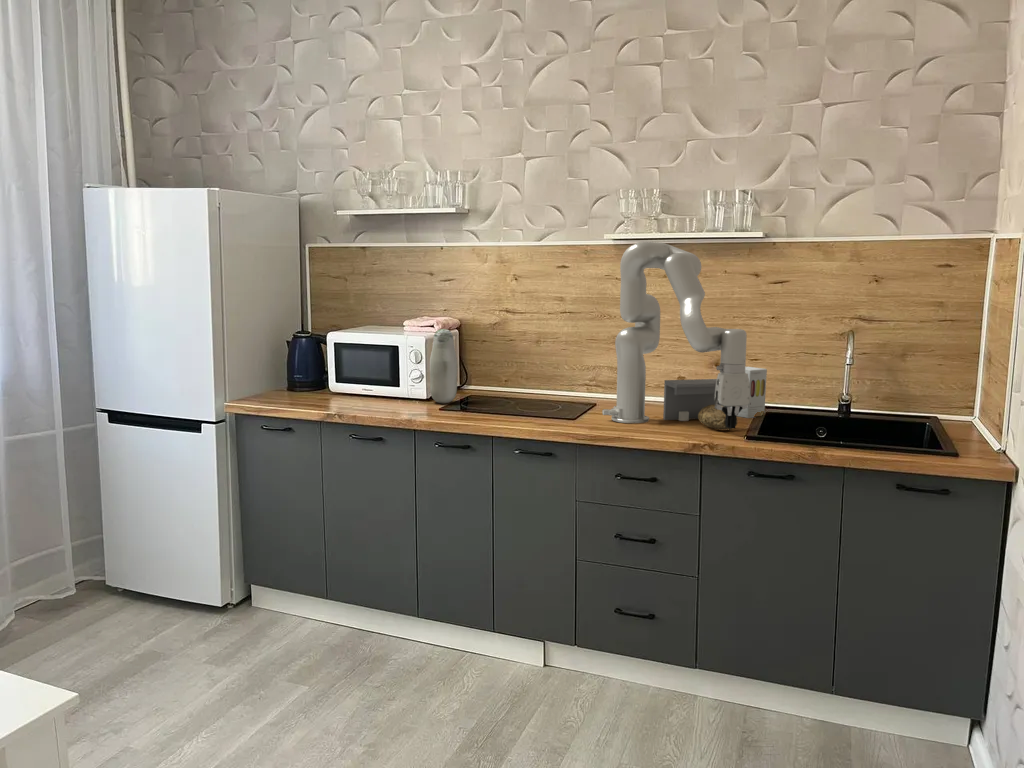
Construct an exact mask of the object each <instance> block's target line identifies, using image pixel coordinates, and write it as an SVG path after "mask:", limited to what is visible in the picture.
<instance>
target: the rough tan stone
mask: <svg viewBox="0 0 1024 768" xmlns="http://www.w3.org/2000/svg"><path fill="white" fill-rule="evenodd" d="M697 420H698V421H699V422H700V423H701V424H702V425H704V426H705V427H709V428H711V429H715V430H719V431H729V430H732V429H734V428H731V429H730V428H728V427H726V425H725V414H724V412H723V411H722V410H718V409H715V404H714V405H708V406H706V407H704V408H702V409H701V410H700V412H699V414H698V419H697ZM737 425H738V420H737V421H736V425H735V428H736V426H737Z"/></svg>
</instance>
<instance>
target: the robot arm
mask: <svg viewBox="0 0 1024 768" xmlns="http://www.w3.org/2000/svg"><path fill="white" fill-rule="evenodd" d="M619 269H620V272H619V273H620V288H619V289H620V292H619V293H620V295H619V296H620V297H619V299H620V300H619V302H620V303H619V314H620V317H621V319H622V320H623V321H624V322H626V323H630V324H633V323H634V326H629V327H626V328H622V330H620V331H619V332H618V333H617V335H616V338H615V342H614V344H615V353H616V362H617V363H616V366H617V367H616V369H617V370H616V371H617V372H616V374H617V375H616V376H617V377H616V405H614V406H613V407H612V408H611V409H608V408H607V409H602V411H601V412H602V415H603V416H611V420H612V421H613V422H617V423H623V424H644V423H647V422H650V421H649V420H650V417H649V416H648V415H646V414H645V411H646V409H645V408H646V407H645V405H646V382H647V381H646V378H647V377H646V376H647V375H646V373H647V370H646V369H647V368H646V367H647V366H646V361H645V357H644V355H645V354H650V353H652V352H654V351H655V350H656V349H657V348H658V347H659V343H660V336H661V306H660V303H659V301H658V300H657V298H656V297H655V296H654V295H652V294H650V293H649V294H648V293H647V278H646V274H645V271H644V270H646V269H661V270H663V271H664V273H665V275H666V277H667V279H668V281H669V284H670V286H671V288H672V291H673V292H674V294H675V296H676V298H677V301H678V304H679V317H680V324H681V328H682V330H683V333H684V335H685V337H686V340H687V342H688V343H689V345H690V346H691V348H692V349H693V350H694V351H696V352H697V353H702V354H703V353H709V352H716V351H720V363H719V365H716V371H719V372H718V373H717V377H716V379H717V381H716V387H715V403H716V404H715V409H718V410H722V411H723V412H724V414H725V425H726V427H728V428H730V430H732V429H731V428H733V429H736V427H735V425H736V421H738V416H737V415H738V414H739V412H740V411H741V410H742V409H746V408H748V405H749V403H750V385H749V378H748V374H747V373H745V367H747V364H746V361H747V335H748V334H747V331H746V330H744V329H742V328H722V327H719V326H718V327H717V326H711V327H709V326H708V327H707V325H706V323H705V321H704V319H703V316H702V312H701V311H702V310H701V306H702V302H703V301H704V299H705V297H706V293H705V290H704V287H703V286H702V284H701V282H700V279H699V278H698V276H699V275H700V273H701V271H702V261H701V259H700V258H699V257H698V256H697V254H694V253H693V252H689V251H687V250H684V249H681V248H679V247H676V246H673V245H671V244H668V243H665V242H656V241H655V242H654V241H641V242H636V243H634V244H631V245H630V246H629V247H627V248H626V250H625V251H624V252H623V254H622V257H621V259H620V267H619ZM731 406H732V409H731ZM736 426H737V425H736Z"/></svg>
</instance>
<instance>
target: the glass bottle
mask: <svg viewBox="0 0 1024 768" xmlns="http://www.w3.org/2000/svg"><path fill="white" fill-rule="evenodd" d="M457 358H458V357H457V354H456V349H455V340H454V334H453V332H452V331H451V330H449V329H444V328H441V329H438V330H436V331H435V333H434V334H433V342H432V349H431V352H430V357H429V386H430V387H429V388H430V389H429V390H430V391H429V392H430V395H431V398H432V399H433V400H434V401H435V402H436V403H438V404H449V403H451V402H452V401H453V400H455V398H456V396H457V391H458V359H457Z"/></svg>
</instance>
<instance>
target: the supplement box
mask: <svg viewBox="0 0 1024 768" xmlns="http://www.w3.org/2000/svg"><path fill="white" fill-rule="evenodd" d="M745 373H747V374H748V378H749V385H750V403H749V405H748V408H746V409H742V410H741V411H740V412H739V414H738V415H737V417H740V418H744V419H752V418H753V419H754V418H755V417H754V415H755V414H756V413H757V412H761V411H764V412H765V411H766V410H765V409H766V393H767V390H766V389H767V378H768V377H767V373H768V369H767V368H761V367H754V366H745ZM731 409H732V406H731Z"/></svg>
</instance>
